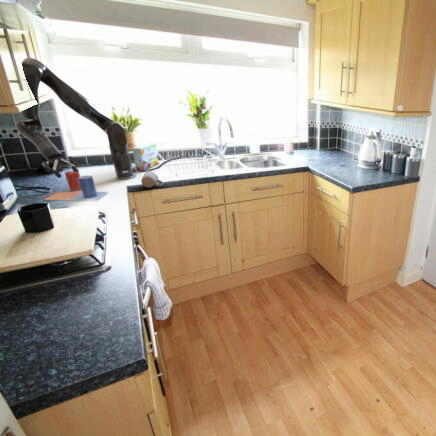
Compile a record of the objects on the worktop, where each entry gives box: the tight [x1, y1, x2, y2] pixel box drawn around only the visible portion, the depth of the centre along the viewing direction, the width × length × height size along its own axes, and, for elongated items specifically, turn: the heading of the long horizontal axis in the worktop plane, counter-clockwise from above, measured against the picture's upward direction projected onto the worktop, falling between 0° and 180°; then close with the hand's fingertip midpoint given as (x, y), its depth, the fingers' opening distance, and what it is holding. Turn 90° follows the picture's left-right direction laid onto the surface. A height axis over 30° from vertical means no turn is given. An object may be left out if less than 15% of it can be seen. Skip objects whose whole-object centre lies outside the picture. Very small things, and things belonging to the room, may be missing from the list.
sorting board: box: [43, 191, 107, 201], centre depth 165 cm, size 11×24×1 cm, turn 99°
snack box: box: [131, 142, 160, 171], centre depth 218 cm, size 21×6×15 cm, turn 1°
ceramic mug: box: [140, 171, 164, 189], centre depth 183 cm, size 11×8×8 cm
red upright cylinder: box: [64, 170, 82, 192], centre depth 172 cm, size 6×6×10 cm
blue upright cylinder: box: [78, 175, 98, 198], centre depth 163 cm, size 6×6×10 cm
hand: (69, 175), depth 171 cm, fingers open, 8 cm apart
